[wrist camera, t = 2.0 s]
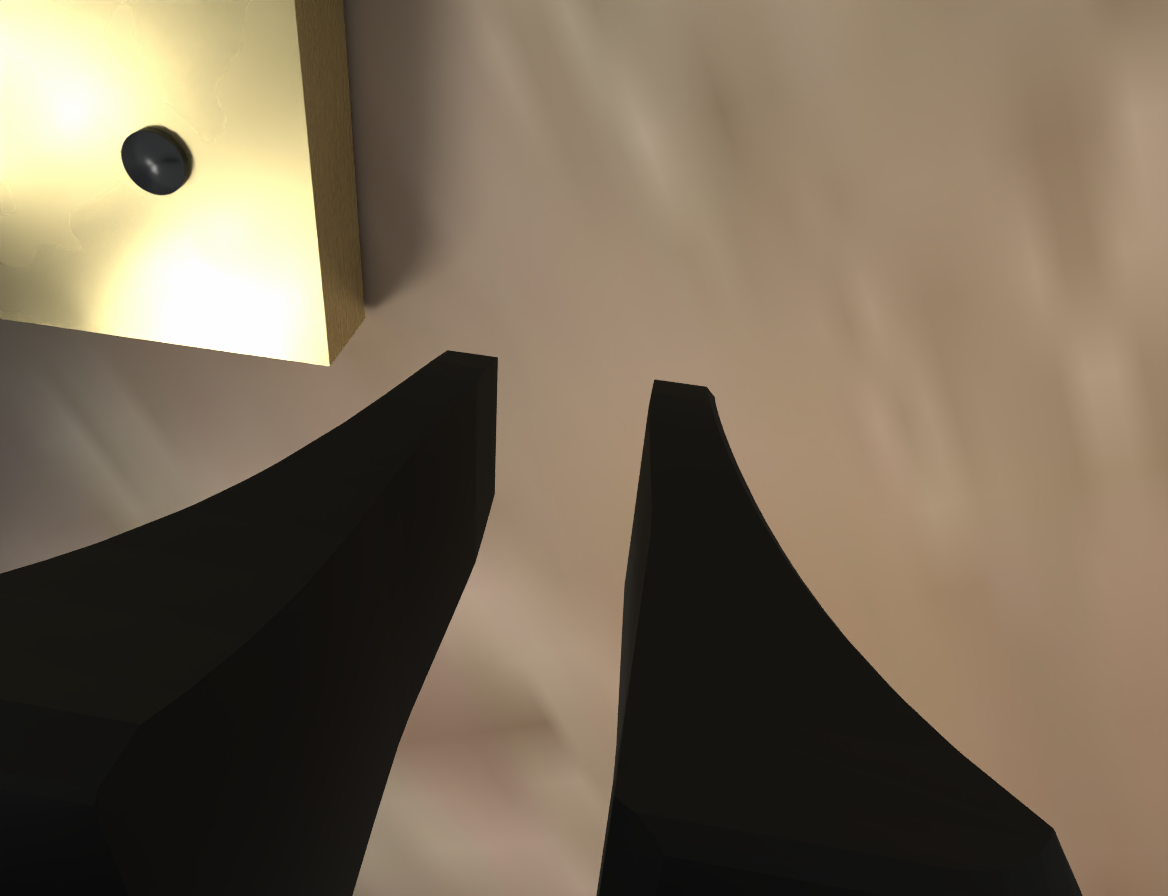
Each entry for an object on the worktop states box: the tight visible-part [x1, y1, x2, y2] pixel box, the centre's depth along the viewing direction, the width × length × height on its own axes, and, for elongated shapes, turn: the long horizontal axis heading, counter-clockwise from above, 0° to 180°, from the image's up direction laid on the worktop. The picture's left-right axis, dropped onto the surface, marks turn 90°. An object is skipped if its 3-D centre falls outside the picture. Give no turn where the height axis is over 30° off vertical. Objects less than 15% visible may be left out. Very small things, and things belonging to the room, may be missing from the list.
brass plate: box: [0, 0, 365, 366], centre depth 17 cm, size 13×12×3 cm
